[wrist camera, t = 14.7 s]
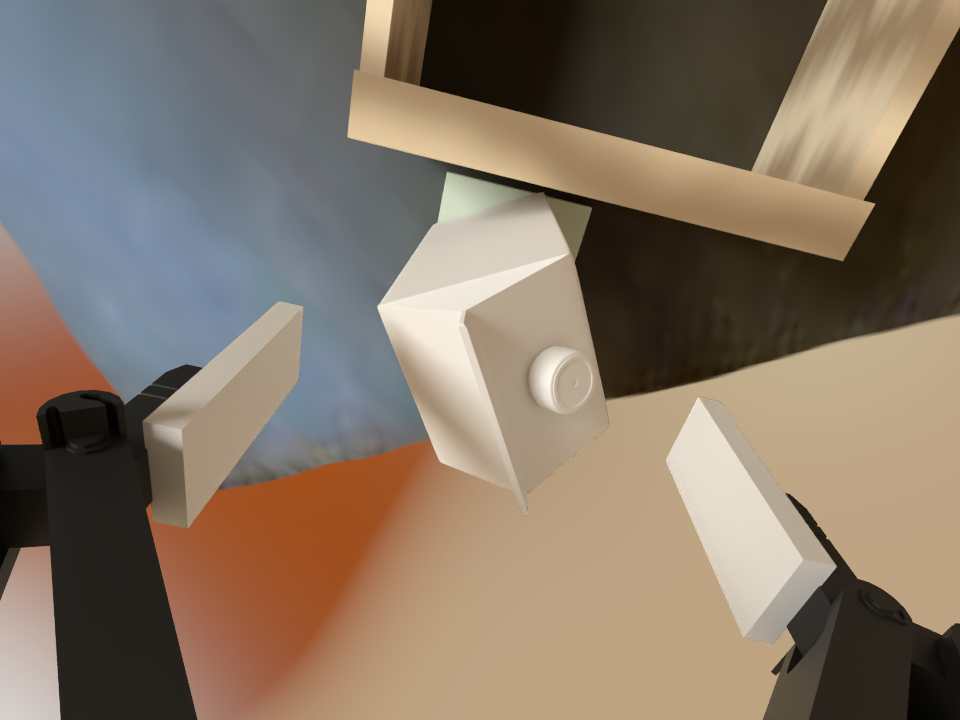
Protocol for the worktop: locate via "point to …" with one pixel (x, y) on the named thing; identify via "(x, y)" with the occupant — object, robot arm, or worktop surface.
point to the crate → (673, 176)
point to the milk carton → (498, 345)
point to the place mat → (481, 194)
